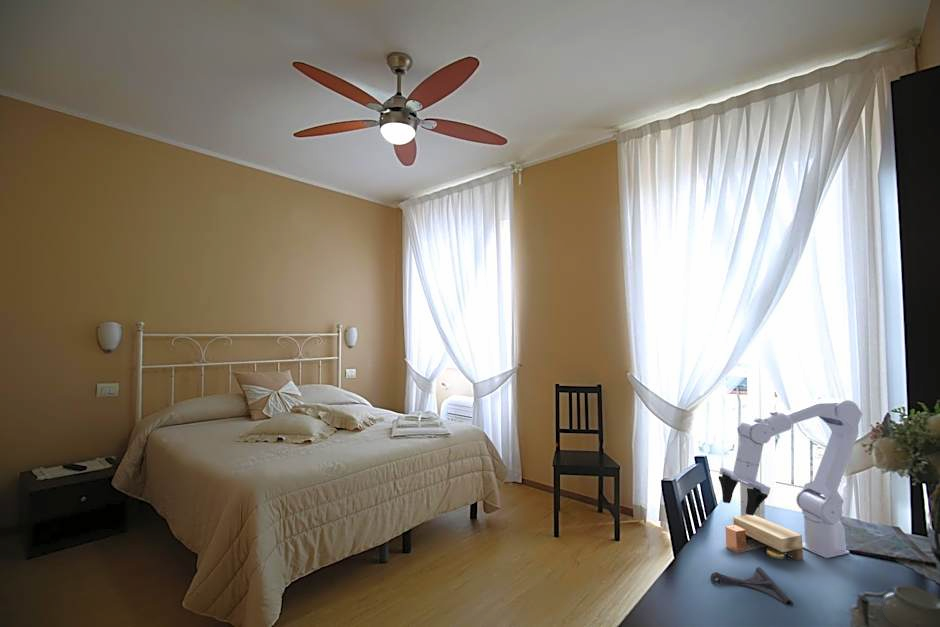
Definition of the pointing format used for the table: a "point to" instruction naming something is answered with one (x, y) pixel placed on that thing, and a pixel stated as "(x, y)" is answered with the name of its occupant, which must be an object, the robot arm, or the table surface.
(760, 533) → the wooden plank block
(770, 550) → the token
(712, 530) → the table surface
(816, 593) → the table surface
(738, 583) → the bracket
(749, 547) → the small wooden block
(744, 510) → the skincare box
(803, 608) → the table surface
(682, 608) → the table surface
